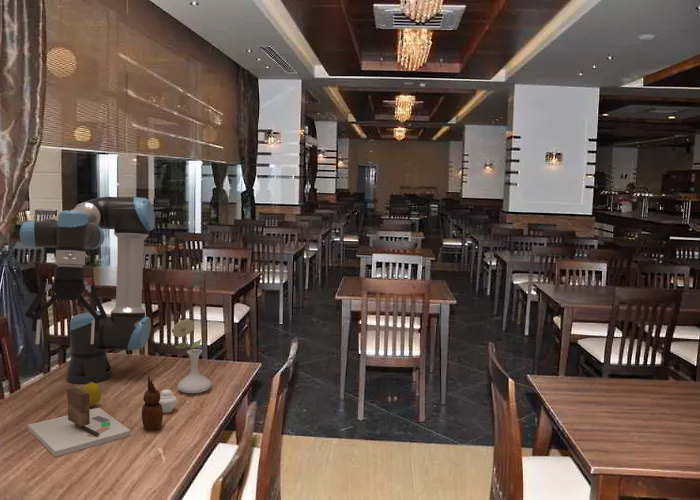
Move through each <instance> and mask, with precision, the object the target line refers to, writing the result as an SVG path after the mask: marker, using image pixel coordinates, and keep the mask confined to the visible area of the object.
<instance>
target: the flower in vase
mask: <svg viewBox="0 0 700 500" xmlns="http://www.w3.org/2000/svg"><path fill="white" fill-rule="evenodd" d="M194 329H195V324H194V321H193V320H190V319H189V318H187V319H186V318H185V319H183V320H182V319H181V320H180V321H178V322H176V323H175V324H174V325H173V328H172V329H171V333H172V336H173V337H175V338H177V337H178V338H184V337H185V341H186V342H180V343H178V344H177V345H175V347H174V349H185V348H186V347H187V346H188V347H189V349H187V350H186V353H187V355H188V356H189V360H190V371H189V373H188V374H187V375H186V376H185V377H183V378H182V379H181V380H180V381H179V382H178V383H177V385H176V387H177V390H178V391H180V392H182V393H185V394H186V393H187V394H200V393H202V392H205V391H208V390H210V388H211V387H212V382H211V381H210V380H209V379H208V378H207V377H206V376H204V375H203V374H202V373H200V371H199V364H198V363H199V359H200V358H199V357H200V355H201V353H202V352H203V350H202V349H199V348H197V347H199V346H200V345H201V342H202V339H199V340H196V341H195V342H193V343H192V344H191V345H190V344H189V343H188V337H187V336H188V335H190V334H191V333H192V332H193V330H194Z"/></svg>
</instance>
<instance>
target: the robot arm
mask: <svg viewBox="0 0 700 500" xmlns="http://www.w3.org/2000/svg"><path fill="white" fill-rule="evenodd" d="M155 225H156V215H155V211H154V207H153V204H152V202H151V201H150V200H149V199H148V198H145V197H137V196H134V197H133V196H101V197H97V198H92V199H89V200H86V201H84V202H81V203H78V204H77V205H76V206H74V208H73V209H70V210H62V211H59V213H58V214H57V215H55V216H53V217H49V218H47V219H44V220H41V221H40V220H39V221H35V220H33V221H25V222H23V223H22V225H21V226H20V228H19V239H20V243H21V244H22V245H23V246H25V247H29V248H55V259H54V260H55V262H54V265H56V267H55V268H54V279H53V283H52V284H50V283H49V284H48V283H41V285H40V289H39V292H38V294H37V295H36V296H35V297H34V300H33V301H32V303H30V306H29V308H28V309H27V311H26V312H25V314H24V315H25V317H26V318H29V319H31V321H32V323H31V324H32V325H31V330H32V332H36V333H35V334H36V335H35V345H40V342H41V330H42V329H41V328H42V327H41V326H42V319H39V318H40V317H41V316H42V315H43V314H44V313H45V312H46V311H47V310H49V308H50V307H51V306H52V305H53V304H54V303H55V302H56V301H57V300H58V299H59V300H60V301H66V300H69V301H75V300H78V301H79V302H80V304H82V305H83V306H84V308H85V309H86V310H87V312H82V313H79V314H75V315H74V316H73V317H71V319H70V323H69V333H70V335H69V336H70V338H69V339H70V340H69V341H70V359H69V363H68V365H67V369H66V372H65V380H66V381H67V382H68V383H71V384H78V385H79V384H82V385H84V384H85V385H86V384H88V383H90V382H93V383H98V382H99V383H100V382H103V381H106V380H108V379H110V378H111V377H112V376H113V367H112V365H111V362H110V360H109V357H108V355H107V350H123V351H125V350H128V351H133V350H138V351H139V350H142V349H143V348H144V347H146V345H147V343H148V340H149V338H150V335H151V327H152V323H151V321H152V320H151V317H148V316H146V310H145V309H144V308H142V302H143V301H142V298H143V273H144V272H143V271H144V270H143V269H144V249H145V248H144V247H145V246H144V245H145V244H144V243H145V239H147V238H148V237H149V233H150V231H153V230H154V229H155ZM104 230H114V231H113V232H114V233H113V235H114V236H115V237H116V238H117V240H118V241H117V242H118V245H117V265H116V267H117V269H116V291H115V292H116V293H115V295H116V296H115V307H114V308H113V309H112V310H111V311H110V316H109V315H107V313H106V311H105V309H104V307H103V305H102V303H101V299H100V298H99V295H98V294H97V291H96V290H97V288H96V285H95V284H91V285H89V284H88V285H85V272H86V271H85V270H86V269H85V268H84V266H86V253H87V252H86V251H87V250H97V249H98V248H100V247H101V246H102V245H103V244H104V242H105V238H106V237H105V232H104ZM50 289H51V290H52V292H53V294H54V295H53V296H51V298H50V299H49V300H48V301H46V303H44V304H43V306H42V307H40V308H39V309H38V311H37V312H35V314H34V311H35V310H36V308H37V307H38V305H39V304H40V302H41V300H42V299H43V297H44V295H45V293H46V292H49V291H50ZM85 290H87V292H88V293H90V294H91V296H92V298H93V301H94V302H95V305H96V306H97V310H95V309H94V308H93V307H92V306H91V305H90V304H89V302H87V300H86V299H85V297H83V293H84V292H85Z"/></svg>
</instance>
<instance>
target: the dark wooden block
mask: <svg viewBox="0 0 700 500" xmlns="http://www.w3.org/2000/svg"><path fill="white" fill-rule="evenodd" d="M66 391H67V415H68V420H69V421H71V422H73V423H75V428H81V429H83V430H85V431H87V432H89V433H91V434H93V435H95V436H99V433H98V432H96V431H94V430H92V429H89V428H87V427H85V425H88V424H90V411H89V410H90V406H89V393H88V392H86V391H83V389H80V388H78V387H76V386H74V387H70V388H68V389H66Z"/></svg>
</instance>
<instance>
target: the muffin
mask: <svg viewBox="0 0 700 500" xmlns="http://www.w3.org/2000/svg"><path fill="white" fill-rule="evenodd" d="M177 400H178V399H177V397H176V396H175V395H174V393H173V391H172V390H171V389H162V390H161V391H160V401H159V403H160V404H161V405H162V410H163V414H168V413H171V412H173V409H174V407H175V406H176V403H177Z"/></svg>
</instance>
